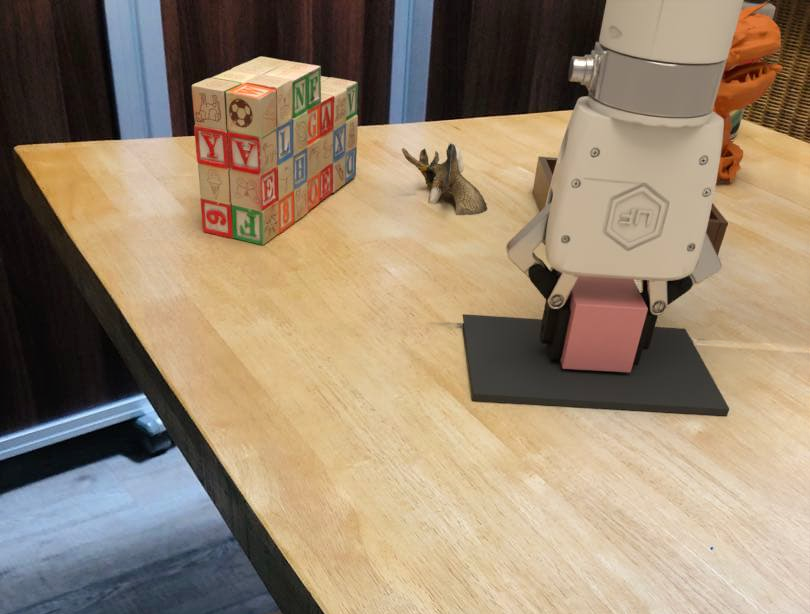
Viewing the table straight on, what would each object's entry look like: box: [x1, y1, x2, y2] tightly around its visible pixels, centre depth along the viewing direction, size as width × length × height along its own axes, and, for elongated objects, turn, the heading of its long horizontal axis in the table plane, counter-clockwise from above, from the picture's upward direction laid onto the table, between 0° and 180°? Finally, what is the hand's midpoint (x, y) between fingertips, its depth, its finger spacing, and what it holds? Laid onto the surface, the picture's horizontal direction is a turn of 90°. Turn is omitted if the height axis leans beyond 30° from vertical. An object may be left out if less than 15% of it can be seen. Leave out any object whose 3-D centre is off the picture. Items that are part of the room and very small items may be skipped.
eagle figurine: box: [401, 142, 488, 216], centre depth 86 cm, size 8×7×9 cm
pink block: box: [560, 276, 648, 373], centre depth 62 cm, size 5×5×5 cm
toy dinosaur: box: [713, 2, 784, 184], centre depth 95 cm, size 11×11×18 cm
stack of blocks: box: [191, 56, 359, 246], centre depth 81 cm, size 21×6×12 cm, turn 160°
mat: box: [461, 313, 730, 417], centre depth 64 cm, size 18×12×1 cm, turn 91°
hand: (591, 351), depth 64 cm, fingers closed on pink block, 5 cm apart
